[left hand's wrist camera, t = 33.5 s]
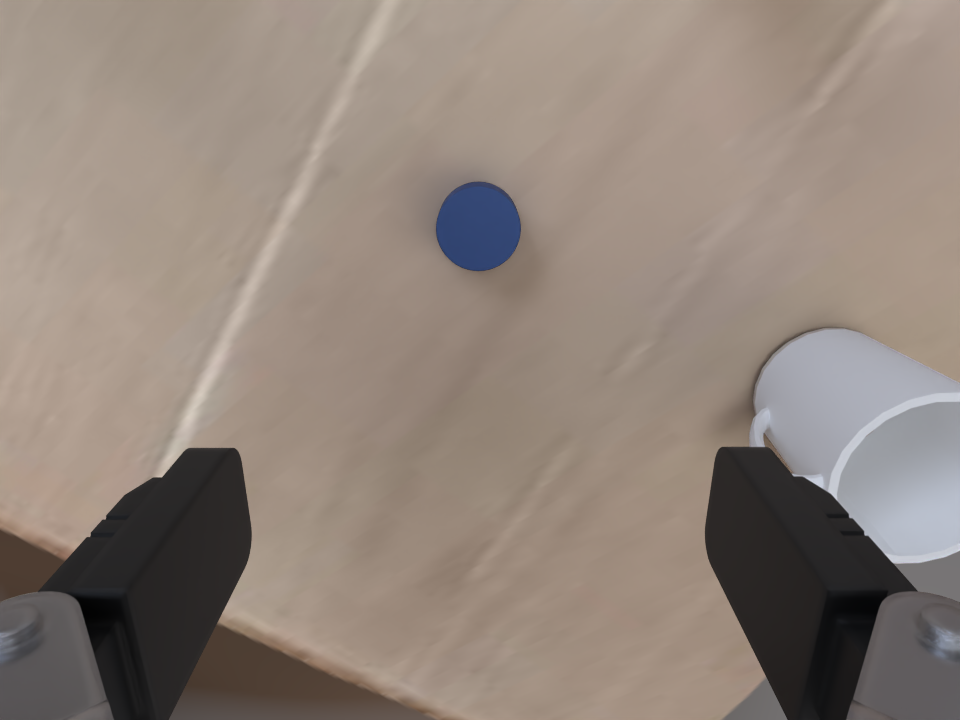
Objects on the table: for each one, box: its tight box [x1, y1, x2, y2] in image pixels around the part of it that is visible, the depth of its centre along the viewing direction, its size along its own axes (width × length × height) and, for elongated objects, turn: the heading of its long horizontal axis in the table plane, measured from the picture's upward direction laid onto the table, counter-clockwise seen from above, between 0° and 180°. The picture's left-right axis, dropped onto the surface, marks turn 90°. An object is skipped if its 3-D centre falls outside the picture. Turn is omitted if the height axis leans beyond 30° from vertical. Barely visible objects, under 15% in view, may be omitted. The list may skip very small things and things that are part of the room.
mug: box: [749, 328, 960, 563], centre depth 35 cm, size 11×9×10 cm
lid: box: [436, 182, 521, 271], centre depth 35 cm, size 4×4×2 cm
